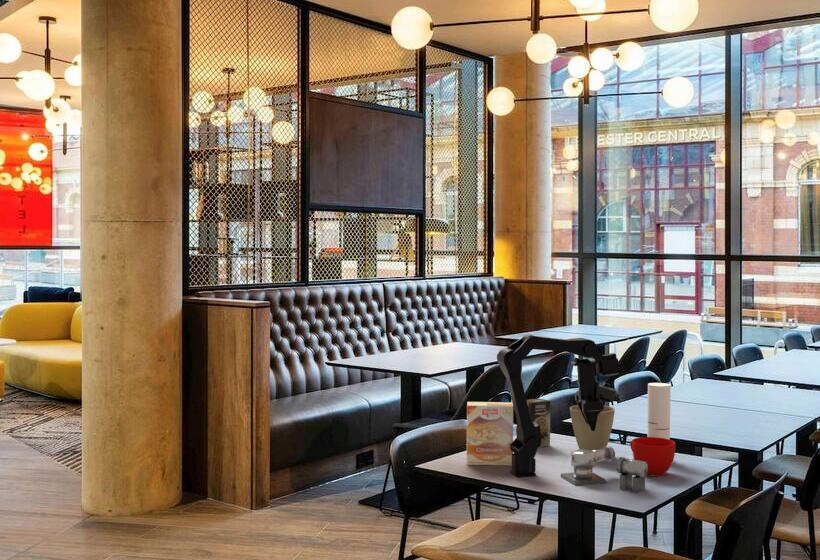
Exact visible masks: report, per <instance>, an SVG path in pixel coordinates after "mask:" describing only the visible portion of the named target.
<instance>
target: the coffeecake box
mask: <svg viewBox="0 0 820 560" xmlns="http://www.w3.org/2000/svg"><path fill="white" fill-rule="evenodd" d="M466 403H467V404H466V465H467V466H511V467H512V453H514V452H512V451H511V449H510V444H511V443H512V442H513V441H514V406H513V402H512V401H511V402H504V401H503V402H501V401H498V402H497V401H496V402H495V401H494V402H493V401H467V402H466Z"/></svg>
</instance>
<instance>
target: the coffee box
mask: <svg viewBox="0 0 820 560" xmlns="http://www.w3.org/2000/svg"><path fill="white" fill-rule="evenodd" d="M526 400H527V404H528V408H529V412H530V416H531V420H532V422H534V423H536V424H538V425H539V426H540V432H541V435H542V437H543V438H541V442H542V443H541V445H540V447H539V448H541V447H544V448H545V447H548V446H549V447H550V446H551V400H549V399H544V398H531V399H526Z"/></svg>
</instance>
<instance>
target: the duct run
mask: <svg viewBox="0 0 820 560" xmlns="http://www.w3.org/2000/svg"><path fill="white" fill-rule="evenodd" d="M617 459H618V460H617V462H616V471H617V474H619V490H621V491H622V490H623V491H627V490H628V489H630V488H632V490H631V492H632V493H637V494H638V493H640V492H642V491H644V490H645V489H646V476H647V475H646V474H647V471H648V465H647V463H646V462H644V461H638V460H634V459H632V458H626V457H623V456H620V457H618V458H617Z"/></svg>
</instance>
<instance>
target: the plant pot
mask: <svg viewBox="0 0 820 560" xmlns="http://www.w3.org/2000/svg"><path fill="white" fill-rule="evenodd" d="M615 411H616V407H613V406H608V405H604V410H603V411H602V412H600V413H599V414H598V417H597V423H596V428H595V431H591V429H590V426H589V424H586V421H585V419H584V417H583V415H582V413H581V411H580V409H579V407H578V405H577V404H576V405H572V406H570V407H569V413H570V418H571V424H572V430H573V433H574V437H575V440H576V444H577V446H578V450H579V449H583V450H591V451H594V450H599V449H603V448H604V447H608V444H609V441H610V437H611V433H612V429H613V425H614V419H615V418H614V417H615Z"/></svg>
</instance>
